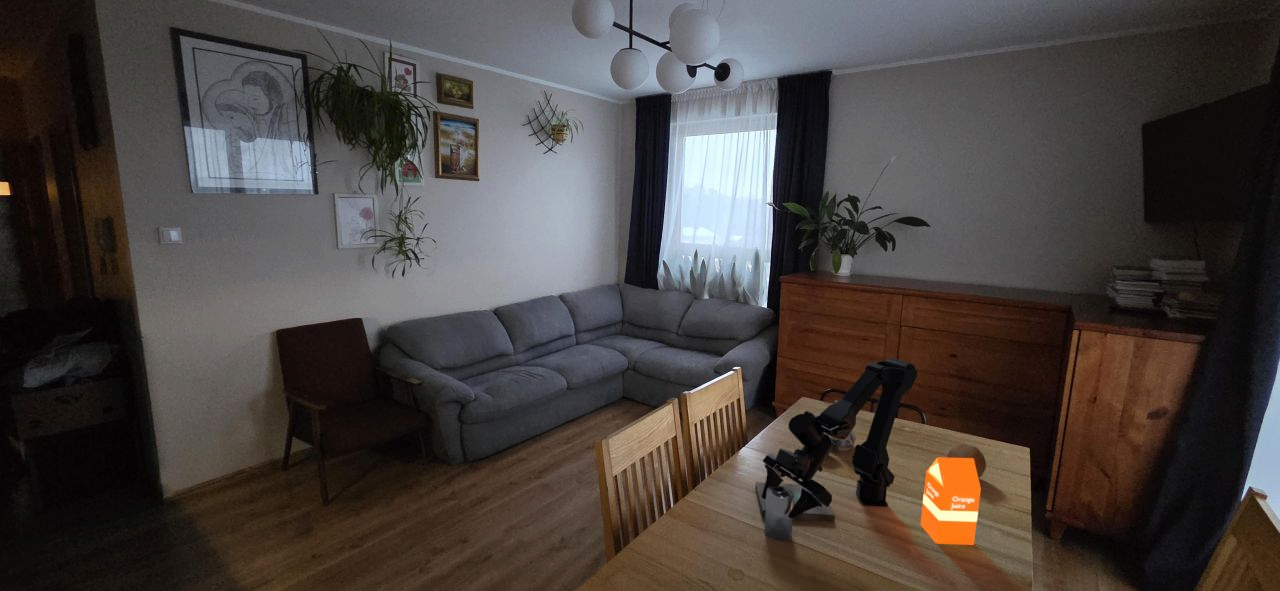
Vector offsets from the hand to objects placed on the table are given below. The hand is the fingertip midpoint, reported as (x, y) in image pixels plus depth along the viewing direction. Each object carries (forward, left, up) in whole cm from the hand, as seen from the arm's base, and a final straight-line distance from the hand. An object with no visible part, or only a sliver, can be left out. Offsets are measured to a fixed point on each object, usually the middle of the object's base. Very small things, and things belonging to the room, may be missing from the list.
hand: (775, 507), depth 124 cm
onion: (-61, -35, -7) cm, 70 cm away
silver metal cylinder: (-1, -1, -7) cm, 7 cm away
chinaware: (-26, -53, -7) cm, 60 cm away
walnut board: (-7, -14, -7) cm, 17 cm away
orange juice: (-42, -5, -7) cm, 43 cm away
